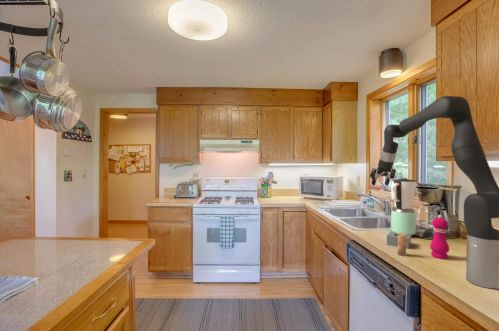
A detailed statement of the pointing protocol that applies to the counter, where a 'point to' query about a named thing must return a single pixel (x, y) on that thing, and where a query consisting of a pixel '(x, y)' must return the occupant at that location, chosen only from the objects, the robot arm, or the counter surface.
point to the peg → (401, 244)
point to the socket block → (393, 239)
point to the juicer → (403, 206)
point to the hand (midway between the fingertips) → (379, 184)
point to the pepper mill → (439, 238)
